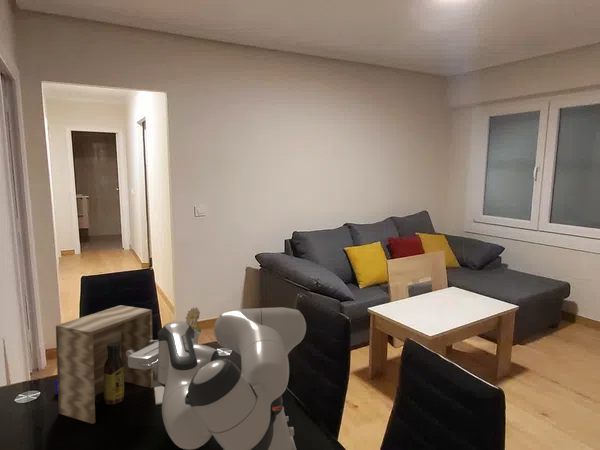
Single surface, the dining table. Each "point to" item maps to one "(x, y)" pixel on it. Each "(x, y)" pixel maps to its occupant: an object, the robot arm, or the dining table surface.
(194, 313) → the flower in vase
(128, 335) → the cubby
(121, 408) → the dining table surface
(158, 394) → the plate
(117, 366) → the sauce bottle
